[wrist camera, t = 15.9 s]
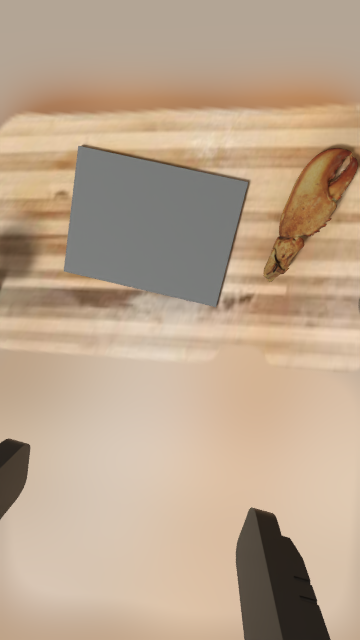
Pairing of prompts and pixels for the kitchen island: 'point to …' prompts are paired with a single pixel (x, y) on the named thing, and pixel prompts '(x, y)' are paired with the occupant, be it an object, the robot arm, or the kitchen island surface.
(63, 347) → the kitchen island surface
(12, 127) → the kitchen island surface
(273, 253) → the crab claw
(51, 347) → the kitchen island surface
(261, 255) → the kitchen island surface
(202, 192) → the mat
